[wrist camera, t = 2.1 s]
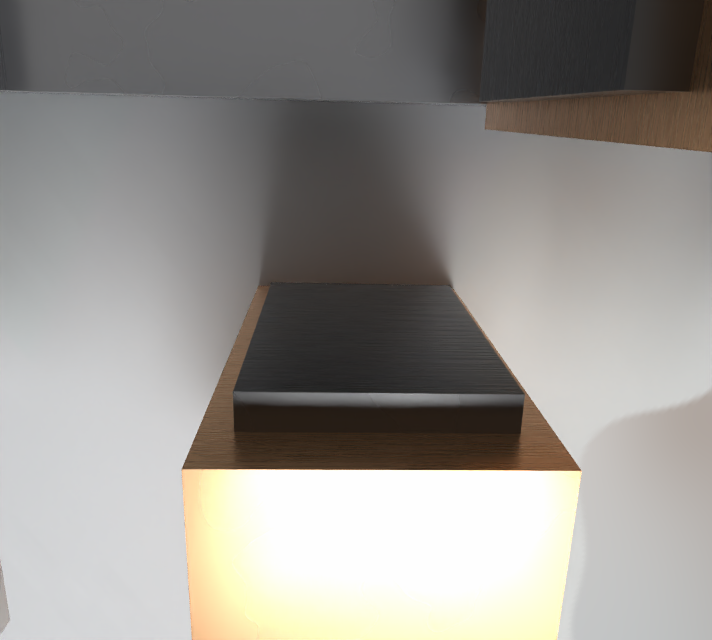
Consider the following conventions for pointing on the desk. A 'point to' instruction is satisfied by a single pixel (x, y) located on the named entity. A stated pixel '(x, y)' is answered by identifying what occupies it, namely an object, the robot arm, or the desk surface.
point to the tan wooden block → (374, 477)
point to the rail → (389, 57)
